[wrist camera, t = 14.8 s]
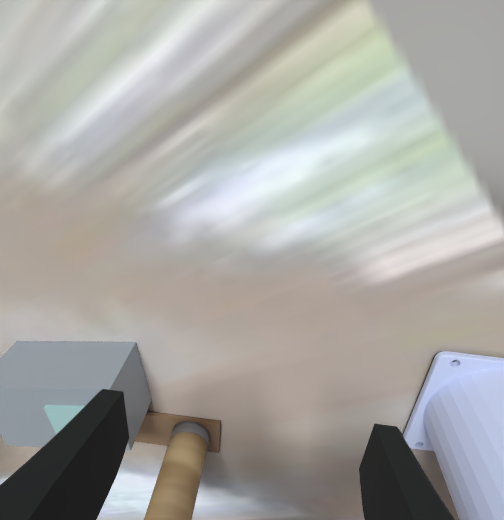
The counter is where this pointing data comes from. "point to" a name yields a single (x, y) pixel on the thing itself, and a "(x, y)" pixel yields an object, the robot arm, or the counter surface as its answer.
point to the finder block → (66, 386)
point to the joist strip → (161, 426)
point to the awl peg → (179, 473)
